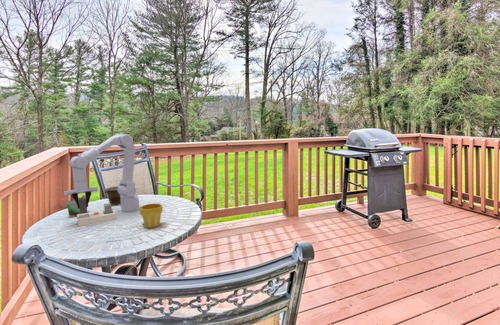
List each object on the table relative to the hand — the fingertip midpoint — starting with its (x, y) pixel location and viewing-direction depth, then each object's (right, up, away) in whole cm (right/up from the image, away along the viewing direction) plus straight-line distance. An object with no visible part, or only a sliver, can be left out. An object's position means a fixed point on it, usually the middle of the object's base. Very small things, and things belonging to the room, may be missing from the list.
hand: (83, 207), depth 144 cm
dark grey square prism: (0, -2, 0) cm, 2 cm away
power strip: (+5, -8, +4) cm, 10 cm away
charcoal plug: (+9, -7, +7) cm, 13 cm away
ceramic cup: (-1, -4, +35) cm, 35 cm away
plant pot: (+36, -9, -2) cm, 37 cm away
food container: (-9, -7, +14) cm, 18 cm away
